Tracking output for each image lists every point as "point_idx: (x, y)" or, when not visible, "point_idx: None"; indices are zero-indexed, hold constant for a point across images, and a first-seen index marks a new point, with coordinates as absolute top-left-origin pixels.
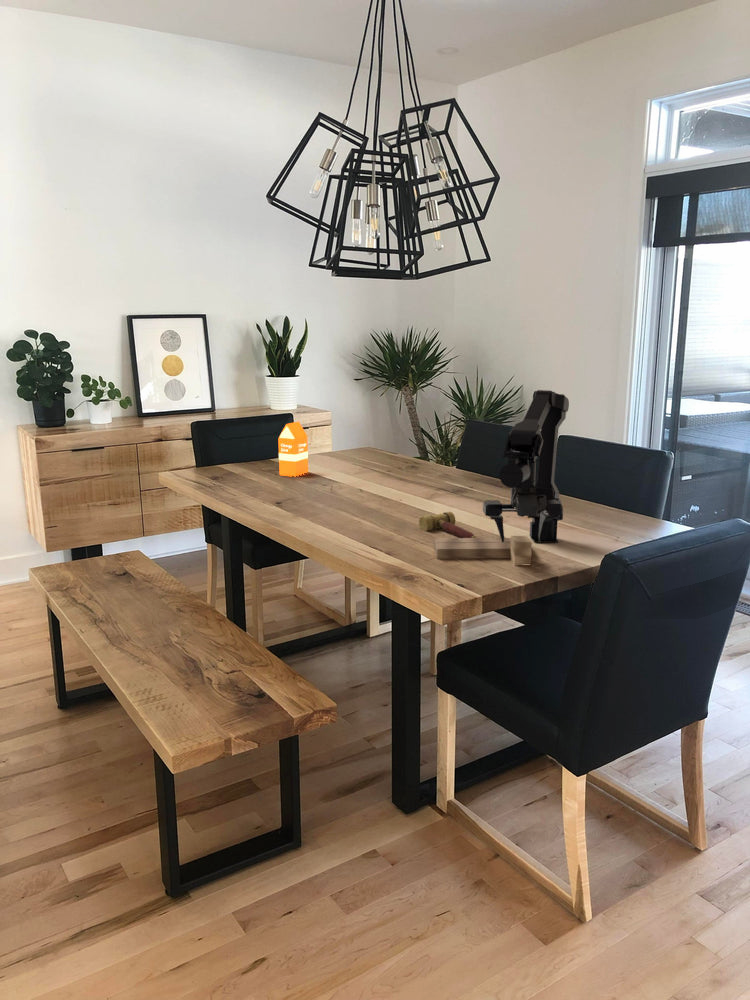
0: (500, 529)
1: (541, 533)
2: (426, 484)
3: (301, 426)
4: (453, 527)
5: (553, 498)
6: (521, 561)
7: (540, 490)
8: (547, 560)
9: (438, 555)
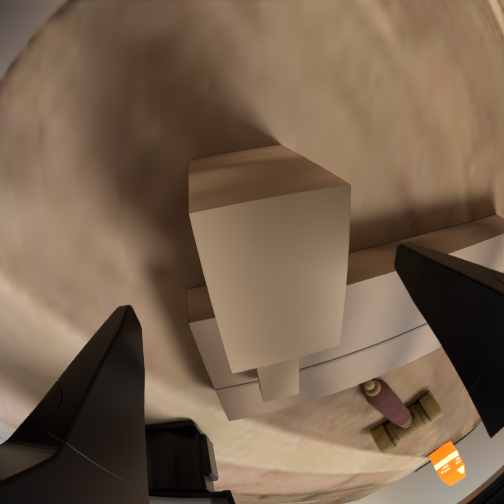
0: (489, 274)
1: (101, 350)
2: (341, 491)
3: (447, 483)
4: (402, 411)
5: None
6: (248, 154)
7: None
8: (109, 266)
9: (501, 218)
